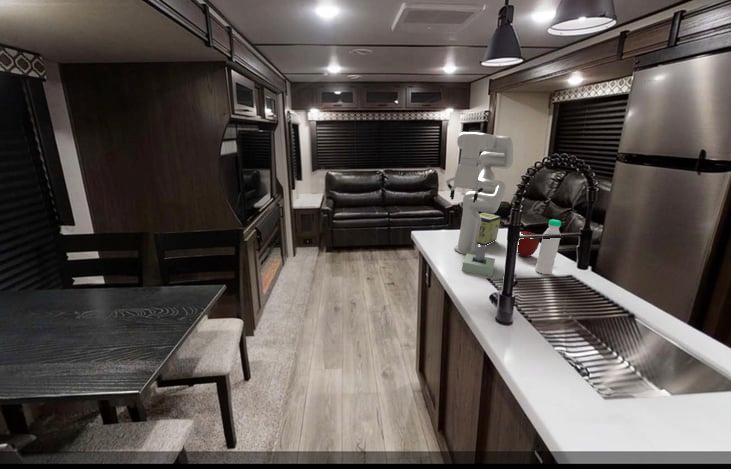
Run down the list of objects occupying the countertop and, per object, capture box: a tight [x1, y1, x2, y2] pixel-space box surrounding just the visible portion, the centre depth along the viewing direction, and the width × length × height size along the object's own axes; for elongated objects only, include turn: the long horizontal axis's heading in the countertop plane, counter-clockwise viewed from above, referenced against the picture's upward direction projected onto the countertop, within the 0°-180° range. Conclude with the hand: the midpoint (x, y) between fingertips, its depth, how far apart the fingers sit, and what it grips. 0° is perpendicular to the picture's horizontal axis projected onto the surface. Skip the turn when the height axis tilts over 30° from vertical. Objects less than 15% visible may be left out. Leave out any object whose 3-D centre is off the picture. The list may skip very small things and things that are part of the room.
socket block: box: [461, 254, 496, 277], centre depth 156 cm, size 13×13×4 cm
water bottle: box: [534, 218, 562, 275], centre depth 153 cm, size 7×7×25 cm
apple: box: [517, 230, 540, 258], centre depth 175 cm, size 12×12×13 cm
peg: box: [475, 245, 487, 263], centre depth 155 cm, size 4×4×11 cm
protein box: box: [477, 212, 502, 246], centre depth 194 cm, size 10×16×16 cm
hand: (463, 200), depth 153 cm, fingers open, 9 cm apart
